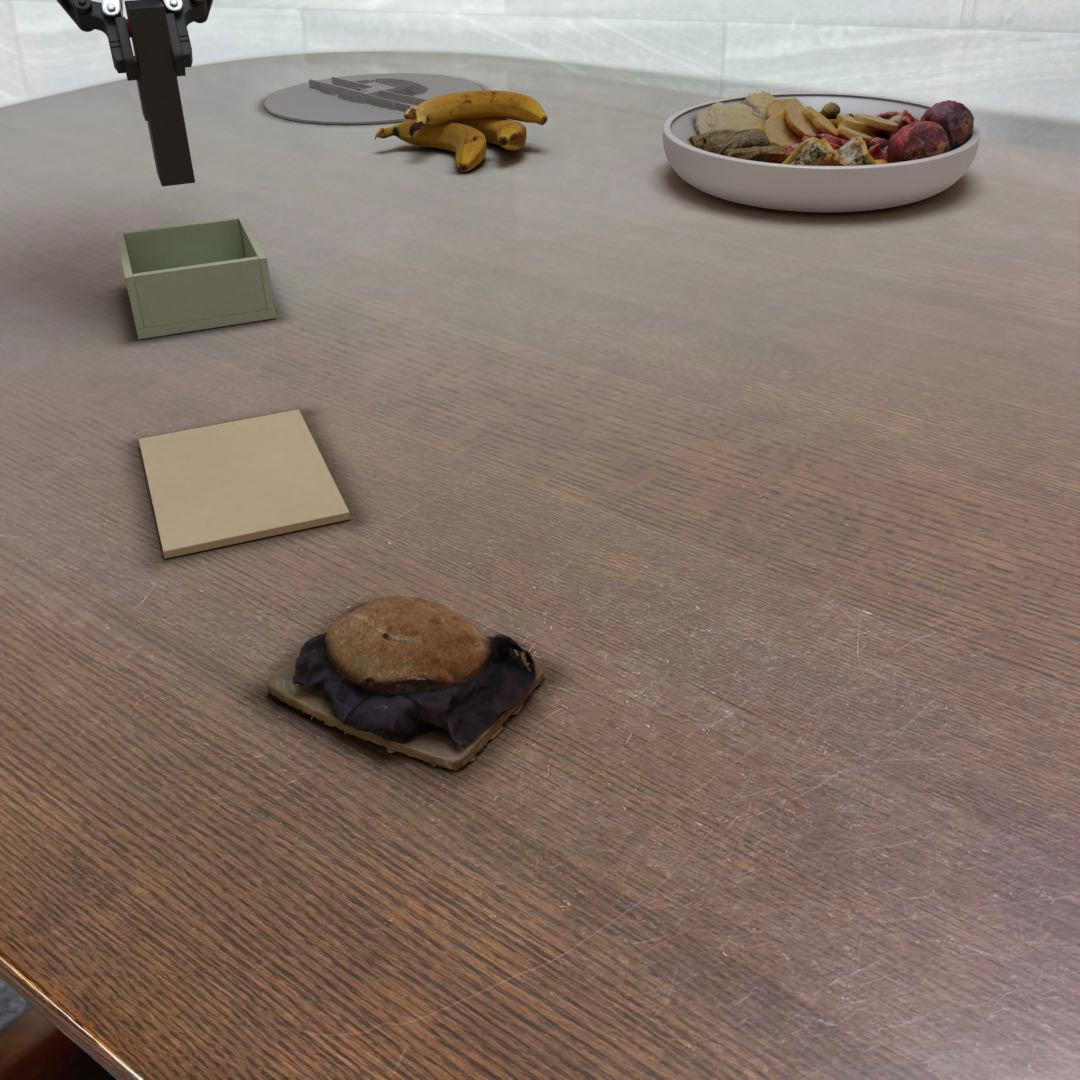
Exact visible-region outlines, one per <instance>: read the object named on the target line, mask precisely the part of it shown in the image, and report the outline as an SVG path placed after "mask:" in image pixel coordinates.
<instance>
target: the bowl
mask: <svg viewBox="0 0 1080 1080" xmlns="http://www.w3.org/2000/svg"><path fill="white" fill-rule="evenodd" d="M974 121H975V117H974V114H973V113H972V111H971V110H970V109H969V108H968V107H967V106H965V104H964V103H962V102H959V101H958V102H957V101H956V100H950V99H947V100H944V101H940V102H936V103H934V104H933V105H932V104H928V103H923V102H920V101H915V100H910V99H909V100H908V99H904V98H903V99H902V98H897V97H889V96H882V95H881V96H880V95H873V94H872V95H871V94H860V93H859V94H858V93H847V92H823V91H822V92H820V91H819V92H817V91H816V92H815V91H813V92H811V91H810V92H809V91H806V92H805V91H804V92H803V91H801V92H799V91H798V92H796V91H795V92H775V93H774V92H773V93H771V92H766V91H765V90H761V91H760V92H753V93H748V94H747V95H741V96H740V95H739V96H732V97H727V98H726V97H725V98H721V99H715V100H710V101H706V102H702V103H698V104H695V105H692V106H689V107H686V108H683V109H680V110H679V111H677V112H675V113H673V114H671V116H669V117H668V118H667V119H666V120H665V122H664V123H663V125H662V126H663V127H662V145H663V151H664V153H665V157H666V160H667V162H668V163H669V165H670V166H671V168H672V169H673V171H674V172H675V174H677V175H678V176H679V177H680V178H681V179H682V180H683V181H684V182H686V183H687V184H688V185H690V186H692V187H693V188H695V189H696V190H699V191H701V192H702V193H704V194H707V195H710V196H712V197H715V198H718V199H721V200H724V201H728V202H731V203H736V204H740V205H745V206H749V207H754V208H760V209H766V210H767V209H768V210H776V211H783V212H784V211H785V212H797V213H824V214H825V213H829V214H830V213H831V214H833V213H854V212H867V211H868V212H869V211H877V210H885V209H891V208H895V207H902V206H906V205H910V204H913V203H917V202H920V201H923V200H926V199H928V198H932V197H933V196H936V195H937V194H940V193H942V192H943V191H945V190H947V189H949V188H950V187H952V186H953V185H954V184H956V183H957V182H958V181H959V180H960V179H961V178H963V176H964V175H965V174H966V173H967V171H968V170H969V169H970V167H971V166H972V164H973V162H974V160H975V157H976V156H977V152H978V149H979V145H980V137H981V131H980V129H979V127H978V125H977V124H975V122H974Z"/></svg>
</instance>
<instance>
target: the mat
mask: <svg viewBox="0 0 1080 1080" xmlns="http://www.w3.org/2000/svg"><path fill="white" fill-rule="evenodd" d="M138 445H139V448H140V453H141V457H142V462H143V467H144V472H145V477H146V480H147V485H148V490H149V493H150V499H151V503H152V508H153V512H154V513H153V514H154V516H155V517H154V518H155V521H156V526H157V531H158V535H159V538H160V544H161V549H162V553H163V557H164V559H166V560H167V559H170V558H171V559H172V558H175V557H180V556H185V555H190V554H194V553H199V552H204V551H208V550H213V549H218V548H222V547H227V546H232V545H236V544H242V543H246V542H250V541H256V540H261V539H265V538H269V537H274V536H279V535H284V534H288V533H292V532H298V531H302V530H307V529H311V528H316V527H321V526H326V525H330V524H334V523H339V522H344V521H349V520H351V514H350V513H351V512H350V511H349V508H348V507H347V505H346V502H345V501H344V498H343V496H342V494H341V492H340V490H339V488H338V486H337V484H336V482H335V479H334V478H333V475H332V474H331V471H330V469H329V467H328V466H327V464H326V461H325V459H324V458H323V455H322V454H321V451H320V450H319V447H318V445H317V443H316V441H315V440H314V437H313V435H312V433H311V432H310V429H309V427H308V425H307V423H306V420H305V419H304V417H303V415H302V413H301V410H300V409H294V410H288V411H281V412H277V413H271V414H267V415H261V416H255V417H249V418H245V419H240V420H234V421H228V422H224V423H223V422H222V423H218V424H211V425H207V426H201V427H196V428H190V429H184V430H179V431H175V432H170V433H169V432H168V433H164V434H159V435H153V436H152V435H151V436H146V437H141V438H139V439H138Z"/></svg>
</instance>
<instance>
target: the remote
mask: <svg viewBox="0 0 1080 1080" xmlns="http://www.w3.org/2000/svg"><path fill="white" fill-rule="evenodd" d="M123 3H124V7H125V11H126V17H127V18H125V19H126V24H127V28H128V32H129V37H130V40H131V45H132V50H133V55H134V59H135V64H136V71H137V77H138V80H135V82H136V87H137V92H138V96H139V103H140V108H141V113H142V116H143V119H144V121H145V122H147V128H148V133H149V138H150V142H151V148H152V155H153V160H154V164H155V165H154V166H155V169H156V174H157V177H158V180H159V183H160V185H161V187H171V186H180V185H189V184H195V183H196V179H195V173H194V167H193V162H192V161H193V160H192V157H191V150H190V144H189V138H188V131H187V126H186V121H185V115H184V111H183V104H182V98H181V92H180V88H179V80H178V76H177V75H176V71H175V66H174V60H173V54H172V49H171V40H170V34H169V29H168V23H167V17H166V12H165V7H164V5H163V4H162V2H161V1H160V0H123Z"/></svg>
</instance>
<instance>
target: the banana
mask: <svg viewBox="0 0 1080 1080" xmlns="http://www.w3.org/2000/svg"><path fill="white" fill-rule="evenodd" d="M404 117H405V118H406V119H411V120H408V121H402V122H398V123H397V124H395V125H393V126H387V127H380V128H379V129H378V130H377V132H376V133H375V137H374V140H377V138H379V139H387V138H391V137H394V136H395V137H396V138H397V139H399V140H401V141H403V142H405V143H407V144H410V145H413V146H419V147H426V148H434V149H440V150H445V151H449V152H452V153H455V155H454V156H455V164H456V167H457V169H458V171H459V172H460V173H466V172H469V171H471V170H473V169H474V168H475V167H476V166H478V165H479V164H481V163H482V162H483V160H484V159H485V156H486V154H487V143H490V144H494V145H497V146H500V147H502V148H503V149H505V150H507V151H519V150H521V149H523V148H525V145H526V143H527V138H528V137H527V133H528V132H527V126H526V125H524V124H523V123H528V124H537V125H539V126H544V125H545V124H547V122H548V115H547V113H546V111H545V110H544V108H543V107H542V105H541V104H540V103H539V102H538V100H536V99H535V98H533V97H531V96H529V95H527V94H523V93H519V92H514V91H508V90H495V89H494V90H492V89H491V90H490V89H489V90H483V91H468V92H459V93H452V94H446V95H442V96H438V97H434V98H431V99H428V100H426V101H424V102H422V103H420V104H419V105H418V106H417V107H413V108H410V109H407V110H406V111H405V114H404ZM521 122H522V123H521Z"/></svg>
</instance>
